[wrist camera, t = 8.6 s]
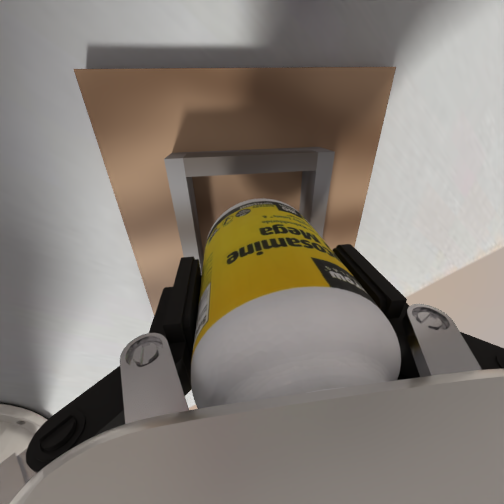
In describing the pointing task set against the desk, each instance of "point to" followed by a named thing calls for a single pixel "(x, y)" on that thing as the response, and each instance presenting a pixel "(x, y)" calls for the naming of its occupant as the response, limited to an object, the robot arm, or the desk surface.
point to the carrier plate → (233, 150)
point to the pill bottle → (282, 313)
